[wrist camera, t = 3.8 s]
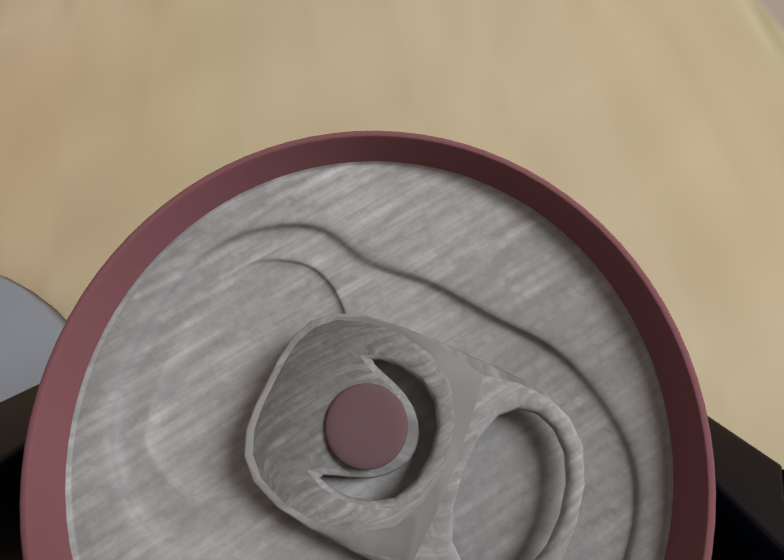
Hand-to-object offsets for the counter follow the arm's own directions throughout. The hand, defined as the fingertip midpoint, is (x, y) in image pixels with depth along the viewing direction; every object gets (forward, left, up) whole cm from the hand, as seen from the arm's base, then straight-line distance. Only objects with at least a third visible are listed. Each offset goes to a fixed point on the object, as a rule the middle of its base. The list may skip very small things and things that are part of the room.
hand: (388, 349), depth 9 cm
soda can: (-1, -1, -7) cm, 7 cm away
